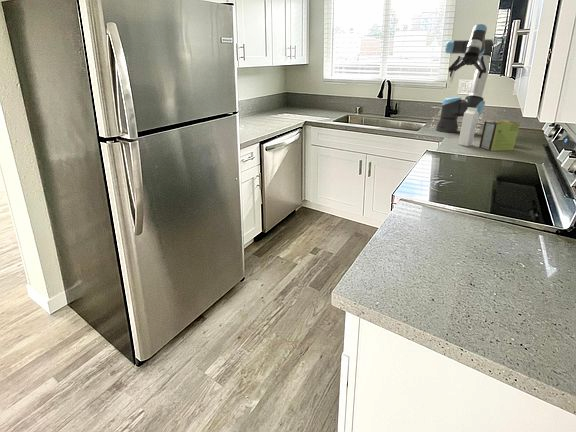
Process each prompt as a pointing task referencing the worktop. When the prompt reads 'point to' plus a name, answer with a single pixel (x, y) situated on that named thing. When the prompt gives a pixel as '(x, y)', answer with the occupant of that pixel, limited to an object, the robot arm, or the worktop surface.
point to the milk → (468, 127)
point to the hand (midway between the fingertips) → (463, 82)
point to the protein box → (499, 135)
